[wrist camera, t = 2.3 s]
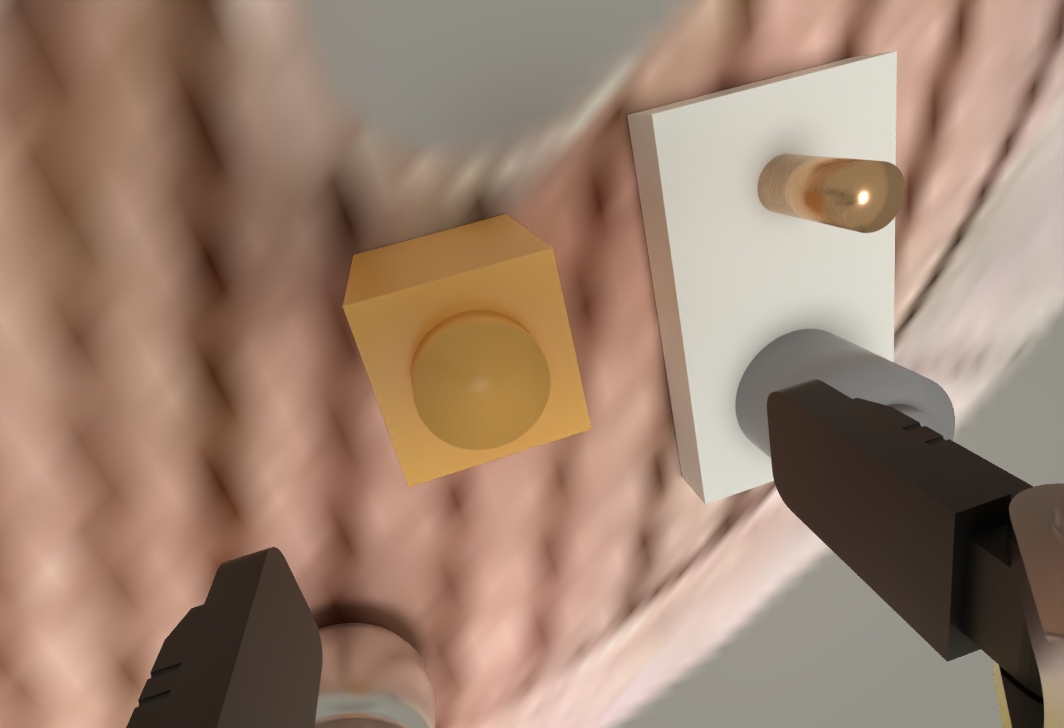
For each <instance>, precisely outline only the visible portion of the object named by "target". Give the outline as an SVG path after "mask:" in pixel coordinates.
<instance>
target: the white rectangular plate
mask: <svg viewBox="0 0 1064 728" xmlns="http://www.w3.org/2000/svg"><path fill="white" fill-rule="evenodd" d="M896 67H897V51H894V52H887V53H879V54H872V55H865V56H857V57H851V58H847V59H843V60H839V61H835V62H831V63H828V64H824V65H820V66H816V67H812V68H808V69H804V70H800V71H796V72H792V73H789V74H785V75H781V76H777V77H773V78H769V79H765V80H761V81H757V82H754V83H750V84H746V85H742V86H738V87H734V88H730V89H726V90H722V91H718V92H715V93H711V94H707V95H703V96H699V97H695V98H691V99H687V100H683V101H680V102H676V103H672V104H668V105H664V106H660V107H656V108H652V109H648V110H644V111H641V112H637V113H633V114H629V115H627V117H628V124H629V130H630V137H631V144H632V150H633V157H634V163H635V170H636V176H637V183H638V190H639V196H640V203H641V209H642V216H643V223H644V229H645V236H646V242H647V249H648V255H649V262H650V269H651V275H652V282H653V288H654V295H655V302H656V308H657V315H658V321H659V328H660V334H661V341H662V348H663V354H664V361H665V367H666V374H667V381H668V387H669V394H670V400H671V407H672V413H673V420H674V427H675V433H676V440H677V446H678V453H679V460H680V466H681V473H682V477H683V478H684V480H685V481H686V482H687V483H688V484H689V486H690V487H691V488H692V489H693V490H694V491H695V493H696V494H697V495H698V496H699V497H700V499H701V500H702V501H703V502H704V503H705V504H707V503H710V502H713V501H716V500H719V499H722V498H725V497H728V496H731V495H734V494H737V493H740V492H743V491H745V490H748V489H751V488H754V487H757V486H760V485H763V484H766V483H769V482H772V481H774V478H773V473H772V463H771V458H770V457H769V456H767V455H766V454H765V453H764V452H763V451H762V450H760V449H759V448H758V447H757V446H756V445H755V444H753V443H752V442H751V441H750V440H749V439H748V438H747V437H746V436H745V434H744V433H743V432H742V430H741V428H740V426H739V424H738V421H737V417H736V409H735V402H736V394H737V390H738V386H739V383H740V380H741V378H742V376H743V374H744V372H745V370H746V369H747V367H748V365H749V364H750V362H751V361H752V360H753V359H754V357H755V356H756V355H757V354H758V353H759V352H760V351H761V350H762V349H763V348H764V347H766V346H767V345H768V344H769V343H771V342H772V341H774V340H775V339H777V338H779V337H781V336H783V335H785V334H787V333H790V332H793V331H797V330H801V329H819V330H824V331H827V332H830V333H832V334H834V335H836V336H838V337H841V338H843V339H845V340H847V341H849V342H851V343H853V344H856V345H858V346H860V347H862V348H864V349H866V350H868V351H870V352H873V353H875V354H877V355H879V356H881V357H883V358H885V359H887V360H890V361H892V362H894V272H895V218H894V219H893V220H892V221H891V222H890V223H889V224H888V225H887V226H885V227H884V228H882V229H880V230H878V231H876V232H872V233H861V232H857V231H852V230H848V229H844V228H839V227H835V226H831V225H826V224H822V223H818V222H813V221H809V220H805V219H800V218H796V217H792V216H787V215H783V214H779V213H775V212H771V211H769V210H767V209H766V208H765V207H764V206H763V205H762V203H761V202H760V199H759V196H758V188H757V187H758V180H759V177H760V174H761V172H762V170H763V169H764V167H765V166H766V165H767V164H768V163H769V162H770V161H771V160H772V159H773V158H775V157H777V156H779V155H782V154H799V155H811V156H824V157H837V158H849V159H862V160H875V161H886V162H890V163H892V164H894V165H895V166H896Z"/></svg>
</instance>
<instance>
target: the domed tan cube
mask: <svg viewBox="0 0 1064 728" xmlns="http://www.w3.org/2000/svg"><path fill="white" fill-rule="evenodd" d="M343 308H344V311H345V314H346V317H347V319H348V322H349V325H350V328H351V330H352V333H353V336H354V339H355V341H356V344H357V347H358V350H359V352H360V355H361V358H362V360H363V363H364V366H365V369H366V371H367V374H368V377H369V380H370V382H371V385H372V388H373V391H374V393H375V396H376V399H377V402H378V404H379V407H380V410H381V413H382V415H383V418H384V421H385V424H386V426H387V429H388V432H389V434H390V437H391V440H392V443H393V445H394V448H395V451H396V454H397V456H398V459H399V462H400V465H401V467H402V470H403V473H404V476H405V478H406V481H407V484H408V487H411V486H414V485H417V484H420V483H423V482H426V481H429V480H433V479H436V478H439V477H442V476H445V475H448V474H451V473H455V472H458V471H461V470H464V469H467V468H470V467H474V466H477V465H480V464H483V463H486V462H489V461H492V460H496V459H499V458H502V457H505V456H508V455H511V454H514V453H518V452H521V451H524V450H527V449H530V448H533V447H536V446H540V445H543V444H546V443H549V442H552V441H555V440H558V439H562V438H565V437H568V436H571V435H574V434H577V433H581V432H584V431H587V430H590V429H592V428H591V424H590V419H589V414H588V410H587V405H586V400H585V396H584V391H583V386H582V382H581V377H580V372H579V368H578V363H577V358H576V354H575V349H574V344H573V339H572V335H571V330H570V325H569V321H568V316H567V311H566V307H565V302H564V297H563V293H562V288H561V283H560V279H559V274H558V269H557V265H556V260H555V255H554V250H553V247H551V246H550V245H548V244H547V243H546V242H544V241H543V240H542V239H540V238H539V237H538V236H536V235H535V234H533V233H532V232H531V231H529V230H528V229H527V228H525V227H524V226H523V225H521V224H520V223H518V222H517V221H516V220H514V219H513V218H512V217H510V216H509V215H508V214H503V215H500V216H496V217H492V218H489V219H485V220H481V221H477V222H474V223H470V224H466V225H463V226H459V227H455V228H452V229H448V230H444V231H440V232H437V233H433V234H429V235H426V236H422V237H418V238H415V239H411V240H407V241H403V242H400V243H396V244H392V245H389V246H385V247H381V248H378V249H374V250H370V251H366V252H363V253H359V254H355V255H353V259H352V264H351V269H350V274H349V279H348V284H347V289H346V293H345V298H344V303H343Z"/></svg>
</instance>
